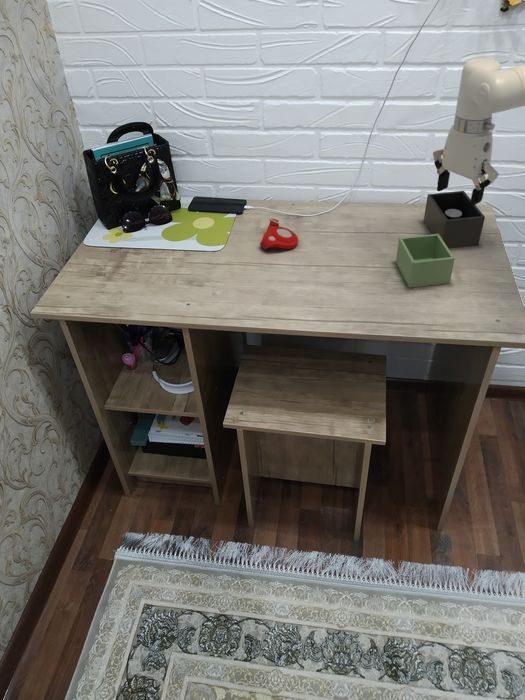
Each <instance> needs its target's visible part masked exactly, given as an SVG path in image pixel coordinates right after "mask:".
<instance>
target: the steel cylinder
mask: <svg viewBox="0 0 525 700" xmlns="http://www.w3.org/2000/svg"><path fill="white" fill-rule="evenodd" d="M445 216H446V218H447V219H448V220H449V219H459V218H461V217H462V212H461V211H459V210H457V209H448V210H446V211H445Z"/></svg>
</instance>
